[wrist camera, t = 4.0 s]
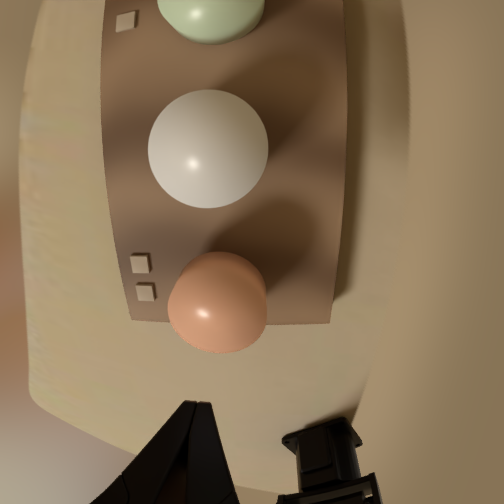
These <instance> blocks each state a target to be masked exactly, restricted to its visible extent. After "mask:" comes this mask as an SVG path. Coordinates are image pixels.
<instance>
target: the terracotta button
mask: <svg viewBox="0 0 504 504" xmlns="http://www.w3.org/2000/svg"><path fill="white" fill-rule="evenodd" d="M168 316H169V320H170V322H171V325H172V326H173V328H174V330H175V331H176V332H177V334H178V335H179V336H180V337H181V338H182V339H184V340H185V341H186V342H188V343H189V344H191V345H192V346H194V347H196V348H199V349H201V350H204V351H208V352H213V353H230V352H235V351H239V350H242V349H244V348H246V347H248V346H250V345H251V344H253V343H254V342H255V341H256V340H257V339H258V338H259V337H260V335H261V334H262V332H263V330H264V328H265V325H266V321H267V303H266V286H265V282H264V280H263V277H262V275H261V274H260V272H259V271H258V269H257V268H256V267H255V266H254V265H253V264H252V263H250V262H249V261H248V260H246V259H245V258H243V257H241V256H238V255H236V254H233V253H228V252H209V253H205V254H202V255H200V256H197V257H196V258H194V259H192V260H191V261H190V262H189V263H188V264H187V265H186V266H185V267H184V268H183V270H182V272H181V274H180V276H179V278H178V280H177V282H176V284H175V286H174V288H173V290H172V292H171V295H170V297H169V300H168Z"/></svg>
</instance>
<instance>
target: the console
mask: <svg viewBox="0 0 504 504" xmlns="http://www.w3.org/2000/svg"><path fill="white" fill-rule="evenodd" d="M198 90H220V91H224V92H228V93H231V94H233V95H235V96H237V97H239V98H241V99H242V100H244V101H245V102H246V103H248V104H249V105H250V106H251V107H252V108H253V109H254V110H255V112H256V113H257V114H258V116H259V117H260V119H261V121H262V123H263V125H264V127H265V130H266V134H267V138H268V158H267V163H266V166H265V169H264V172H263V174H262V176H261V178H260V179H259V181H258V182H257V184H256V185H255V186H254V187H253V188H252V190H251V191H250V192H248V193H247V194H246V195H245V196H244V197H242V198H240V199H239V200H237V201H235V202H233V203H231V204H228V205H226V206H222V207H217V208H198V207H193V206H189V205H186V204H184V203H182V202H179V201H178V200H176V199H175V198H173V197H172V196H170V195H169V194H168V193H167V192H166V191H165V190H164V189H163V188H162V187H161V186H160V184H159V183H158V182H157V180H156V178H155V176H154V174H153V172H152V170H151V167H150V163H149V157H148V142H149V136H150V133H151V130H152V127H153V125H154V123H155V121H156V119H157V117H158V116H159V115H160V113H161V112H162V111H163V110H164V109H165V108H166V107H167V106H168V105H169V104H170V103H171V102H173V101H174V100H175V99H177V98H179V97H180V96H182V95H185V94H187V93H190V92H194V91H198ZM101 125H102V142H103V156H104V167H105V177H106V186H107V194H108V202H109V210H110V216H111V223H112V229H113V235H114V241H115V247H116V252H117V258H118V263H119V268H120V272H121V277H122V282H123V286H124V291H125V295H126V299H127V303H128V308H129V312H130V315H131V319H132V320H139V321H155V322H170V320H169V316H168V300H169V297H170V295H171V292H172V290H173V288H174V286H175V284H176V282H177V280H178V278H179V276H180V274H181V272H182V270H183V268H184V267H185V266H186V265H187V264H188V263H189V262H190V261H191V260H192V259H194V258H196V257H197V256H200V255H202V254H205V253H209V252H228V253H233V254H236V255H238V256H241V257H243V258H245V259H246V260H248V261H249V262H250V263H252V264H253V265H254V266H255V267H256V268H257V269H258V271H259V272H260V274H261V275H262V277H263V280H264V282H265V286H266V303H267V321H266V325H289V324H326V323H330V317H331V310H332V304H333V297H334V289H335V282H336V274H337V265H338V256H339V247H340V237H341V227H342V215H343V202H344V187H345V170H346V146H347V60H346V38H345V22H344V9H343V0H265V4H264V12H263V15H262V17H261V19H260V21H259V23H258V24H257V25H256V26H255V28H254V29H252V30H251V31H250V32H249V33H248V34H246V35H245V36H243V37H241V38H240V39H237V40H235V41H232V42H229V43H225V44H220V45H203V44H198V43H195V42H192V41H190V40H188V39H186V38H184V37H183V36H182V35H180V34H179V33H178V32H177V31H176V30H175V29H174V28H173V26H172V25H171V24H170V23H169V22H168V21H167V20H166V19H165V18H164V17H163V15H162V14H161V12H160V10H159V7H158V2H157V0H106V1H105V10H104V20H103V32H102V48H101Z"/></svg>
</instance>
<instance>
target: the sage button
mask: <svg viewBox="0 0 504 504" xmlns="http://www.w3.org/2000/svg"><path fill="white" fill-rule="evenodd" d="M157 2H158V7H159V10H160V12H161V14H162V15H163V17H164V18H165V19H166V20H167V21H168V22H169V23H170V24H171V25H172V26H173V28H174V29H175V30H176V31H177V32H178V33H179V34H180V35H182V36H183V37H184V38H186V39H188V40H190V41H192V42H195V43H198V44H203V45H220V44H225V43H229V42H232V41H235V40H237V39H240V38H241V37H243V36H245V35H246V34H248V33H249V32H250V31H251V30H252V29H254V28H255V26H256V25H257V24H258V23H259V21H260V19H261V17H262V15H263V12H264V4H265V0H157Z"/></svg>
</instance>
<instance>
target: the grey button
mask: <svg viewBox="0 0 504 504" xmlns="http://www.w3.org/2000/svg"><path fill="white" fill-rule="evenodd" d="M148 157H149V163H150V167H151V170H152V172H153V174H154V176H155V178H156V180H157V182H158V183H159V184H160V186H161V187H162V188H163V189H164V190H165V191H166V192H167V193H168V194H169V195H170V196H172V197H173V198H175V199H176V200H178V201H179V202H182V203H184V204H186V205H189V206H193V207H198V208H217V207H222V206H226V205H228V204H231V203H233V202H235V201H237V200H239V199H240V198H242V197H244V196H245V195H246V194H247V193H248V192H250V191H251V190H252V188H253V187H254V186H255V185H256V184H257V182H258V181H259V179H260V178H261V176H262V174H263V172H264V169H265V166H266V163H267V158H268V138H267V134H266V130H265V127H264V125H263V123H262V121H261V119H260V117H259V116H258V114H257V113H256V112H255V110H254V109H253V108H252V107H251V106H250V105H249V104H248V103H246V102H245V101H244V100H242V99H241V98H239V97H237V96H235V95H233V94H231V93H228V92H224V91H220V90H198V91H194V92H190V93H187V94H185V95H182V96H180V97H179V98H177V99H175V100H174V101H173V102H171V103H170V104H169V105H168V106H167V107H166V108H165V109H164V110H163V111H162V112H161V113H160V115H159V116H158V117H157V119H156V121H155V123H154V125H153V127H152V130H151V133H150V136H149V142H148Z"/></svg>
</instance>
